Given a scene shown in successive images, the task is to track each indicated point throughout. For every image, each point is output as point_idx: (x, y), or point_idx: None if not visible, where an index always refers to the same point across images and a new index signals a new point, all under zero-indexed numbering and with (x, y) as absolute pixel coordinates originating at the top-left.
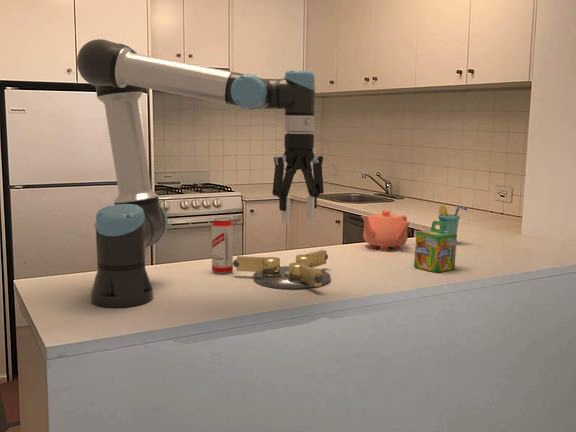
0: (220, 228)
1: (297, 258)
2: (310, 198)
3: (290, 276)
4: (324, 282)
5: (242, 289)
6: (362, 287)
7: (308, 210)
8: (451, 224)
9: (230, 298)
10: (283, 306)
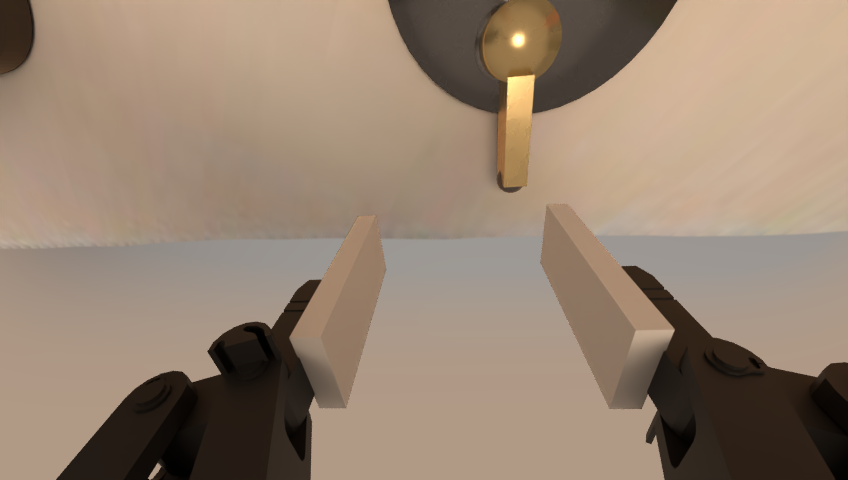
0: None
1: None
2: (609, 372)
3: (479, 48)
4: (578, 97)
5: (314, 21)
6: (651, 166)
7: (568, 269)
8: None
9: (263, 109)
10: None
